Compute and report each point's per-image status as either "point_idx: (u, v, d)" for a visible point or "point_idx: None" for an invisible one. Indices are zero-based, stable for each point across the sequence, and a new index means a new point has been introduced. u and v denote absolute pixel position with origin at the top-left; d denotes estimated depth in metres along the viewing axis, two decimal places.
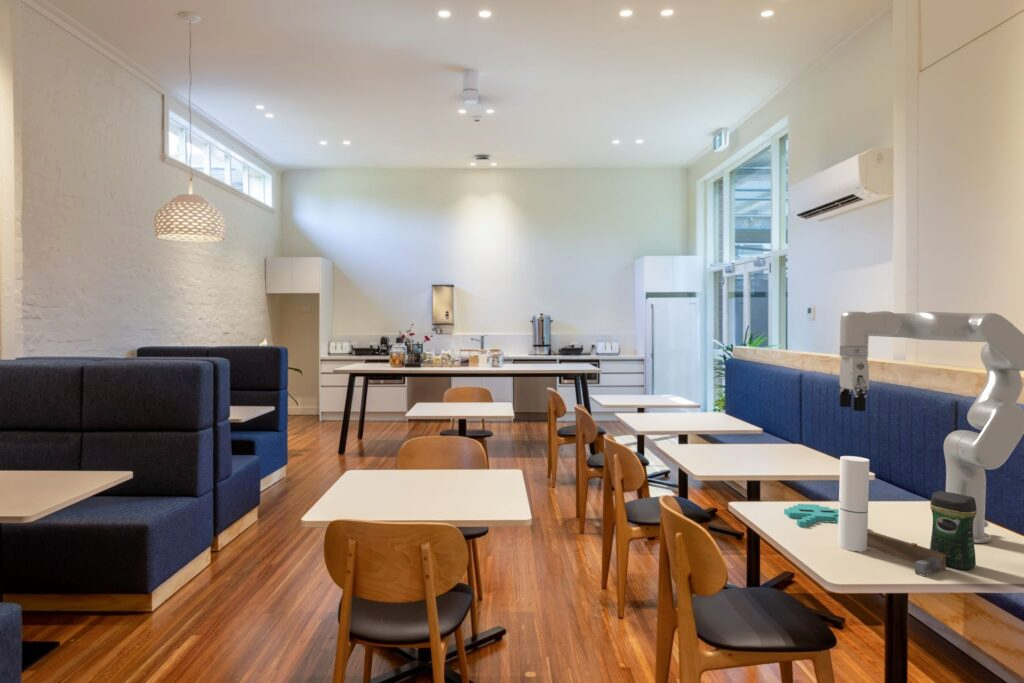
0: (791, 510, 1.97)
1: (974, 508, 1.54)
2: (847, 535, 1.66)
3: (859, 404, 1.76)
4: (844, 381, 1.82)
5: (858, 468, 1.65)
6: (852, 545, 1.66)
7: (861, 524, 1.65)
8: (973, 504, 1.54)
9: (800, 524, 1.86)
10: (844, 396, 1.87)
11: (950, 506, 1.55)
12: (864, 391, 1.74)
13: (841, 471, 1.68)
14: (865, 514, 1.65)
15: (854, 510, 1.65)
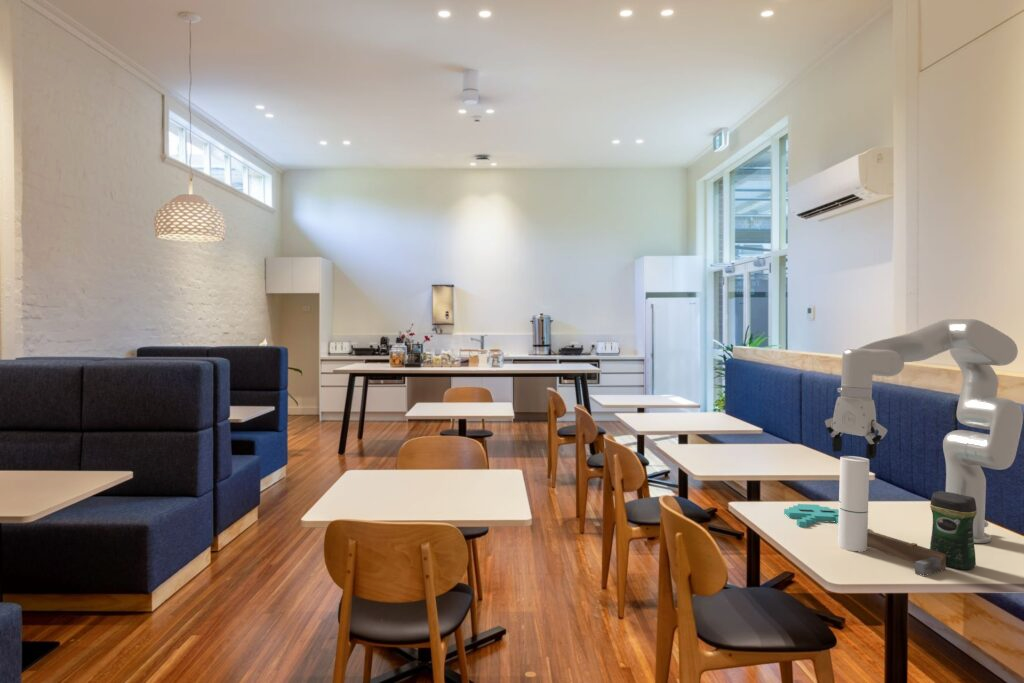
0: (791, 510, 1.97)
1: (974, 508, 1.54)
2: (847, 535, 1.66)
3: None
4: None
5: (858, 468, 1.65)
6: (852, 545, 1.66)
7: (861, 524, 1.65)
8: (973, 504, 1.54)
9: (800, 524, 1.86)
10: None
11: (950, 506, 1.55)
12: None
13: (841, 471, 1.68)
14: (865, 514, 1.65)
15: (854, 510, 1.65)
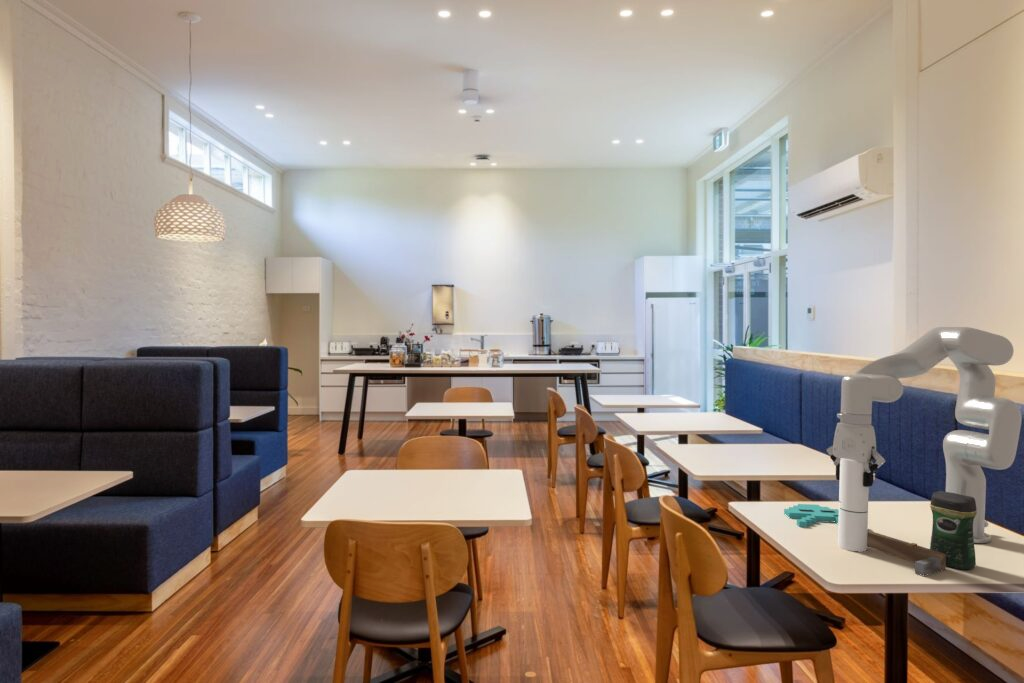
0: (791, 510, 1.97)
1: (974, 508, 1.54)
2: (847, 535, 1.66)
3: None
4: None
5: (858, 468, 1.65)
6: (852, 545, 1.66)
7: (861, 524, 1.65)
8: (973, 504, 1.54)
9: (800, 524, 1.86)
10: None
11: (950, 506, 1.55)
12: None
13: (841, 471, 1.68)
14: (865, 514, 1.65)
15: (854, 510, 1.65)
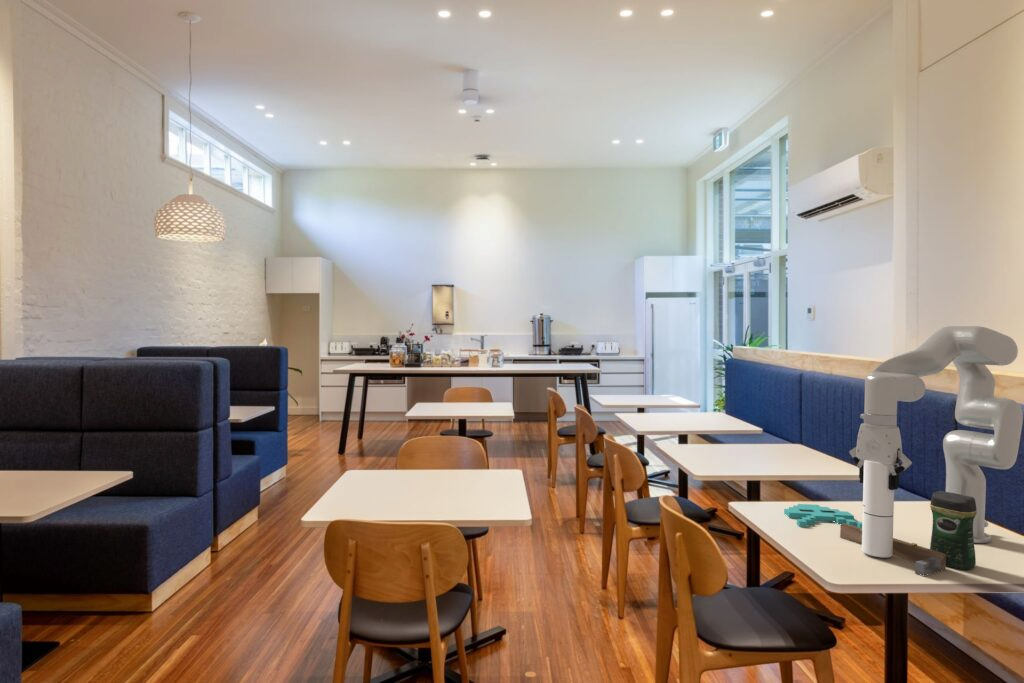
0: (791, 510, 1.97)
1: (974, 508, 1.54)
2: (872, 539, 1.60)
3: None
4: None
5: (883, 470, 1.59)
6: (877, 550, 1.60)
7: (886, 528, 1.59)
8: (973, 504, 1.54)
9: (800, 524, 1.86)
10: None
11: (950, 506, 1.55)
12: None
13: (865, 474, 1.63)
14: (890, 518, 1.59)
15: (879, 514, 1.59)
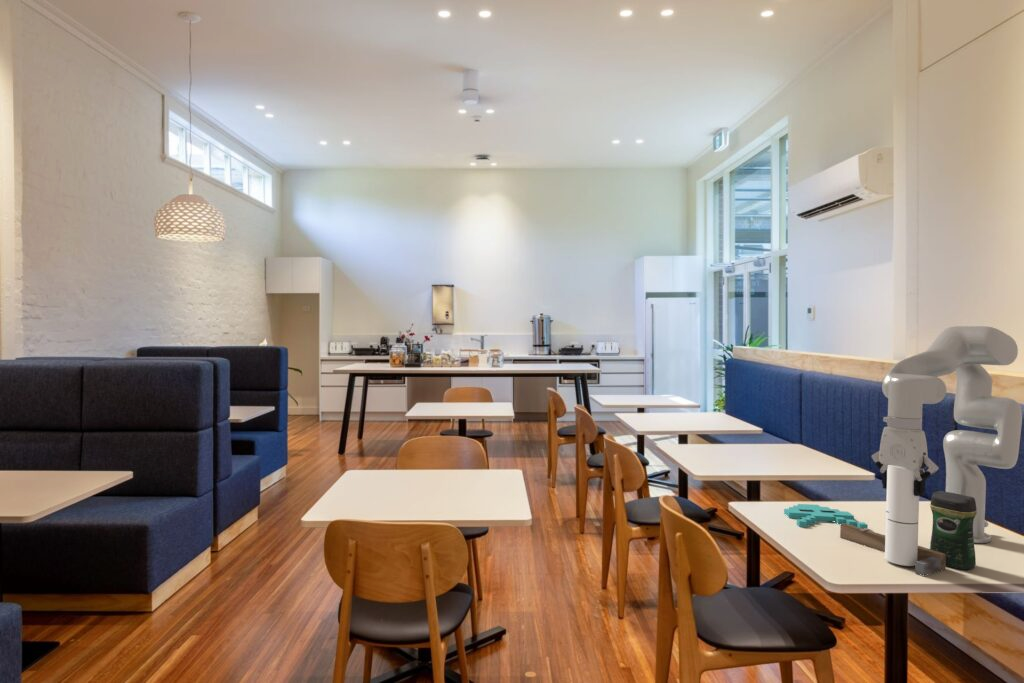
0: (791, 510, 1.97)
1: (974, 508, 1.54)
2: (896, 547, 1.55)
3: None
4: None
5: (908, 475, 1.53)
6: (902, 558, 1.54)
7: (911, 536, 1.54)
8: (973, 504, 1.54)
9: (800, 524, 1.86)
10: None
11: (950, 506, 1.55)
12: None
13: (889, 479, 1.57)
14: (916, 525, 1.54)
15: (904, 521, 1.54)
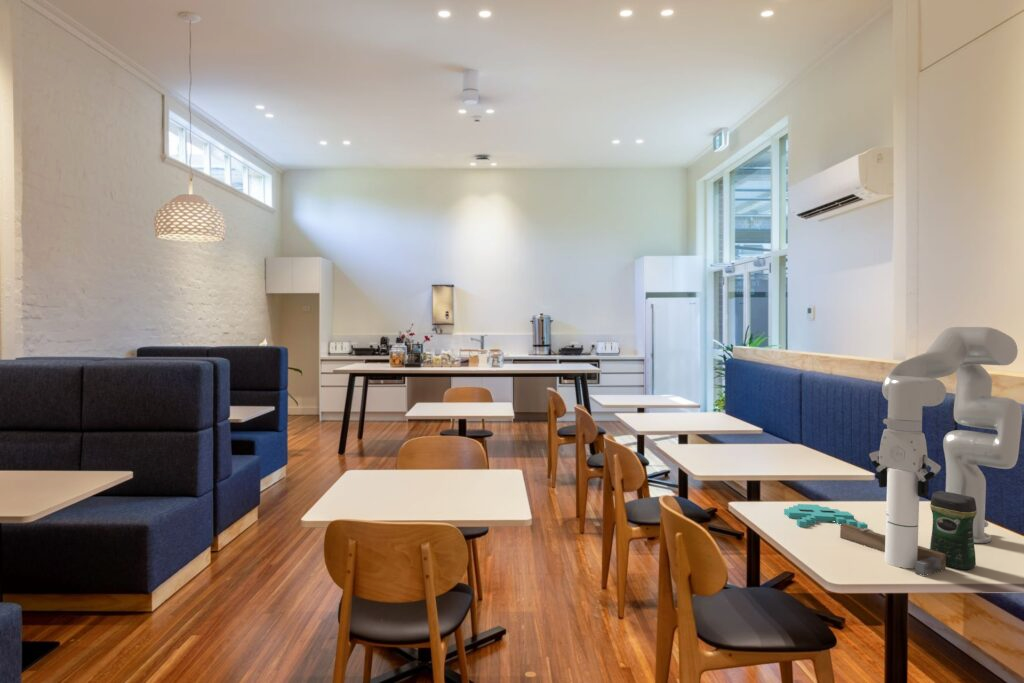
0: (791, 510, 1.97)
1: (974, 508, 1.54)
2: (896, 550, 1.55)
3: None
4: None
5: (908, 478, 1.53)
6: (902, 561, 1.54)
7: (911, 538, 1.54)
8: (973, 504, 1.54)
9: (800, 524, 1.86)
10: None
11: (950, 506, 1.55)
12: None
13: (889, 482, 1.57)
14: (916, 528, 1.54)
15: (904, 524, 1.54)
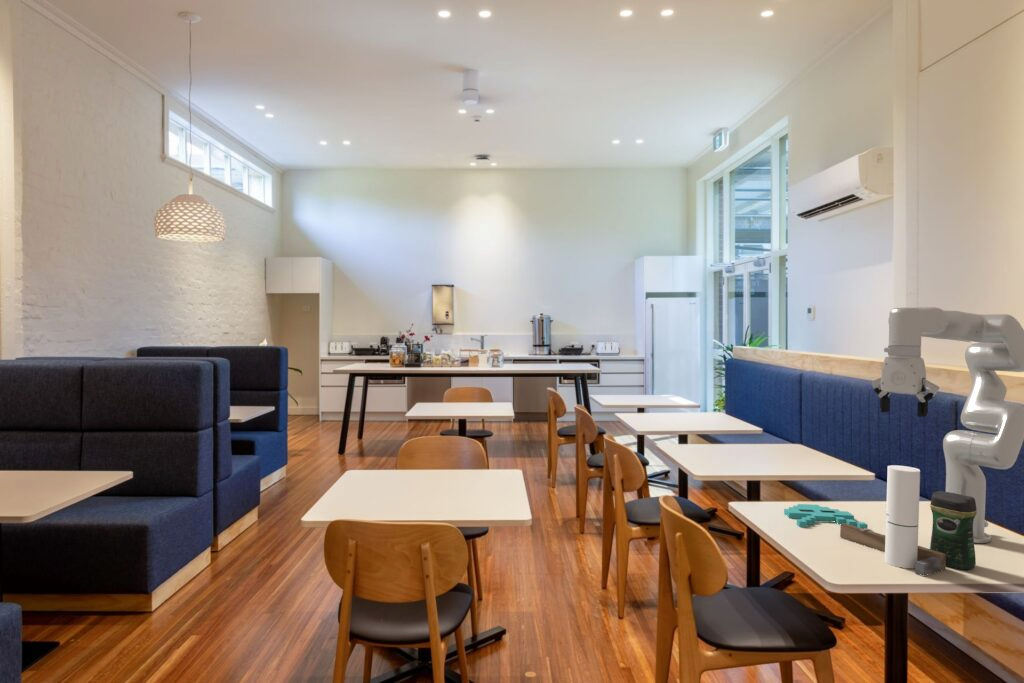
0: (791, 510, 1.97)
1: (974, 508, 1.54)
2: (896, 550, 1.55)
3: None
4: None
5: (908, 478, 1.53)
6: (902, 561, 1.54)
7: (911, 538, 1.54)
8: (973, 504, 1.54)
9: (800, 524, 1.86)
10: None
11: (950, 506, 1.55)
12: None
13: (889, 482, 1.57)
14: (916, 528, 1.54)
15: (904, 524, 1.54)
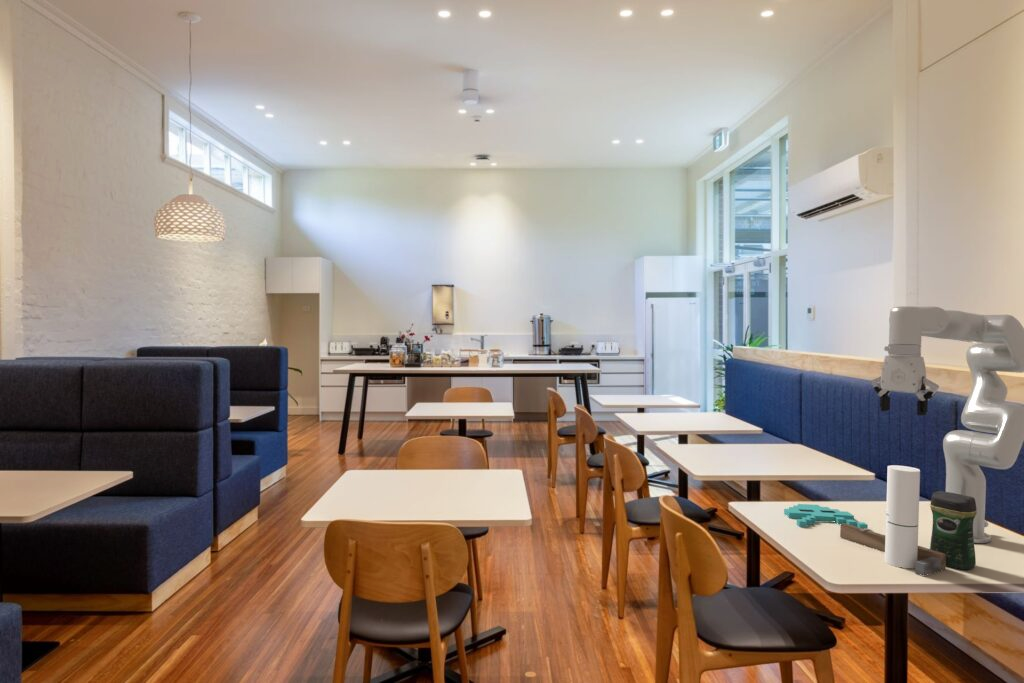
0: (791, 510, 1.97)
1: (974, 508, 1.54)
2: (896, 550, 1.55)
3: None
4: None
5: (908, 478, 1.53)
6: (902, 561, 1.54)
7: (911, 538, 1.54)
8: (973, 504, 1.54)
9: (800, 524, 1.86)
10: None
11: (950, 506, 1.55)
12: None
13: (889, 482, 1.57)
14: (916, 528, 1.54)
15: (904, 524, 1.54)
